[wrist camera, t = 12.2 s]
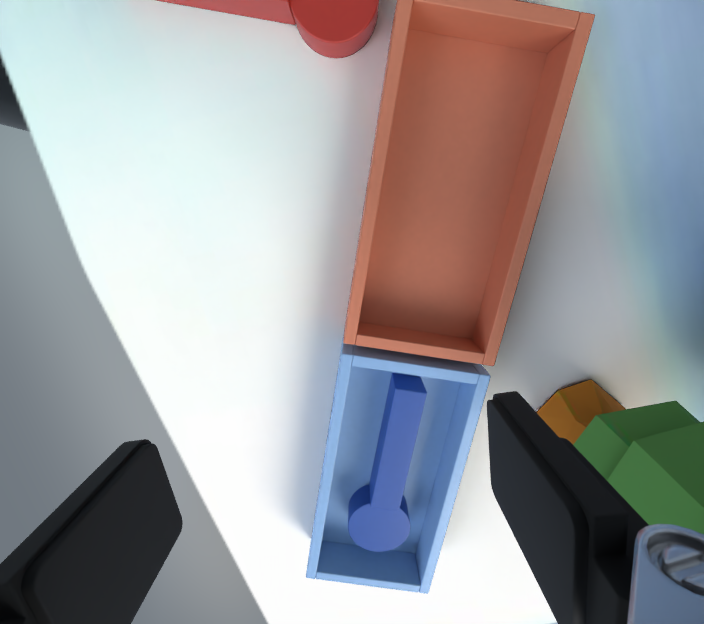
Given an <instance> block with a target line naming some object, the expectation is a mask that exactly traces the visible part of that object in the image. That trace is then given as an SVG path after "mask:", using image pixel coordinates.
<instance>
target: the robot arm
mask: <svg viewBox="0 0 704 624" xmlns="http://www.w3.org/2000/svg"><path fill="white" fill-rule="evenodd" d="M487 417H488V435H489V454H490V473H491V485H492V489H493V493H494V495H495V498H496V500H497V502H498V504H499V506H500V508H501V510H502V512H503V514H504V516H505V518H506V520H507V522H508V524H509V526H510V528H511V530H512V532H513V534H514V536H515V538H516V540H517V542H518V544H519V546H520V548H521V550H522V552H523V554H524V556H525V558H526V560H527V562H528V564H529V566H530V568H531V570H532V572H533V574H534V576H535V578H536V580H537V582H538V584H539V586H540V588H541V590H542V592H543V594H544V596H545V598H546V600H547V602H548V604H549V606H550V608H551V610H552V612H553V614H554V616H555V618H556V621H557V623H558V624H704V534H701V533H699V532H697V531H694V530H692V529H688V528H685V527H681V526H677V525H671V524H654V525H648V523H647V522H646V521H645V520H644V519H643V518H642V517H641V516H640V515H639V514H638V513H637V512H636V511H635V510H634V509H633V508H632V507H631V506H630V504H629V503H628V502H627V501H626V500H625V499H624V498H623V497H622V496H621V495H620V494H619V493H618V492H617V491H616V490H615V489H614V488H613V487H612V485H611V484H610V483H609V482H608V481H607V480H606V479H605V478H604V477H603V476H602V475H601V474H600V473H599V472H598V471H597V470H596V469H595V468H594V466H593V465H592V464H591V463H590V462H589V461H588V460H587V459H586V458H585V457H584V456H583V455H582V454H581V453H580V452H579V451H578V450H577V449H576V447H575V446H574V445H573V444H572V443H571V442H570V441H568V440H567V439H565V438H562V437H561V438H559V437H558V436H557V435H556V433H555V432H554V431H553V430H552V429H551V428H550V427H549V426H548V425H547V424H546V423H545V421H544V420H543V419H542V418H541V417H540V416H539V415H538V414H537V413H536V412H535V411H534V409H533V408H532V407H531V406H530V405H529V404H528V403H527V402H526V401H525V400H524V399H523V397H522V396H521V395H520V394H519V393H518V392H516V391H513V392H506V393H498V394H494V396H493V400H488V401H487ZM181 529H182V517H181V514H180V511H179V508H178V505H177V503H176V500H175V497H174V494H173V491H172V488H171V486H170V483H169V480H168V477H167V475H166V471H165V469H164V466H163V463H162V460H161V457H160V455H159V451H158V449H157V447H156V445H155V444H151V442H150V441H149V440H146V439H144V440H137V441H129V442H124V443H123V444H122V445H121V446H119V448H117V449H116V451H115V452H113V453H112V454H111V455H110V456H109V457H108V458H107V460H105V461H104V462H103V463H102V464H101V465H100V466H99V467H98V468H97V469H96V470H95V471H94V472H93V473H92V474H91V475H90V476H89V477H88V478H87V479H86V480H85V481H84V482H83V483H82V484H81V485H80V486H79V487H78V488H77V489H76V490H75V491H74V492H73V493H72V494H71V495H70V496H69V497H68V498H67V499H66V500H65V501H64V502H63V503H62V504H61V505H60V506H59V507H58V508H57V509H56V510H55V511H54V512H53V513H52V514H51V515H50V516H49V517H48V518H47V519H46V520H44V522H43V523H42V524H40V525H39V526H38V527H37V528H36V529H35V530H34V531H33V533H31V534H30V535H29V537H27V538H26V539H25V540H24V541H23V542H22V543H21V544H20V545H19V546H18V547H17V548H16V549H15V550H14V551H13V552H12V553H11V554H10V555H9V556H8V557H7V558H6V559H5V560H4V561H3V562H2V563H1V564H0V624H131V622H132V621H133V619H134V617H135V615H136V613H137V611H138V609H139V608H140V606H141V604H142V602H143V600H144V599H145V597H146V595H147V593H148V591H149V589H150V588H151V586H152V584H153V582H154V580H155V579H156V577H157V575H158V573H159V571H160V569H161V568H162V566H163V564H164V562H165V560H166V558H167V557H168V555H169V553H170V551H171V549H172V547H173V545H174V544H175V542H176V540H177V538H178V536H179V534H180V532H181Z"/></svg>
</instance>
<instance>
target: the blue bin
mask: <svg viewBox="0 0 704 624" xmlns="http://www.w3.org/2000/svg"><path fill="white" fill-rule="evenodd" d="M343 339H344V337H343ZM392 373H396V374H403V375H409V376H416V377H421V379H422V381H423V384H424V386H425V389H426V391H427V396H426V400H425V405H424V409H423V413H422V417H421V421H420V426H419V430H418V434H417V438H416V442H415V446H414V451H413V455H412V459H411V463H410V467H409V472H408V476H407V480H406V484H405V488H404V493H403V496H404V497H405V499H406V502H407V507H408V513H409V519H410V532H409V535H408V537H407V539H406V540H405V541H404V542H403V543H402V544H401V545H400V546H398V547H397V548H395V549H392V550H389V551H384V552H374V551H369V550H366V549H364V548H362V547H360V546H358V545H357V544H356V543H355V542H354V541H353V540H352V538H351V537H350V535H349V532H348V506H349V501H350V499H351V497H352V495H353V494H354V493H355V492H356V491H357V490H358V489H359V488H361V487H363V486H365V485H368V484H369V482H370V477H371V472H372V468H373V463H374V458H375V453H376V448H377V443H378V438H379V433H380V429H381V424H382V419H383V414H384V409H385V404H386V399H387V394H388V389H389V385H390V380H391V375H392ZM490 377H491V376H490V374H489V373H488V372H487V371H486V370H485V369H484V367H483V366H482V365H481V364H476V363H470V362H463V361H457V360H450V359H443V358H437V357H430V356H424V355H417V354H410V353H404V352H397V351H391V350H384V349H377V348H371V347H364V346H358V345H352V344H345V343H343V342H342V348H341V354H340V361H339V367H338V373H337V379H336V386H335V392H334V398H333V405H332V411H331V417H330V424H329V430H328V436H327V443H326V449H325V455H324V462H323V468H322V474H321V481H320V487H319V493H318V500H317V506H316V512H315V519H314V525H313V531H312V537H311V544H310V551H309V558H308V565H307V572H306V577H307V578H313V579H315V578H316V579H321V580H328V581H336V582H343V583H351V584H358V585H366V586H373V587H381V588H389V589H396V590H404V591H411V592H420V593H426V594H428V592H429V589H430V585H431V582H432V578H433V575H434V571H435V568H436V564H437V561H438V558H439V554H440V551H441V547H442V544H443V540H444V537H445V533H446V530H447V526H448V523H449V519H450V516H451V512H452V509H453V505H454V502H455V499H456V495H457V492H458V488H459V485H460V481H461V478H462V474H463V471H464V467H465V464H466V460H467V457H468V453H469V450H470V447H471V443H472V440H473V436H474V433H475V429H476V426H477V422H478V419H479V415H480V412H481V408H482V405H483V401H484V398H485V394H486V391H487V388H488V384H489V381H490Z"/></svg>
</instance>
